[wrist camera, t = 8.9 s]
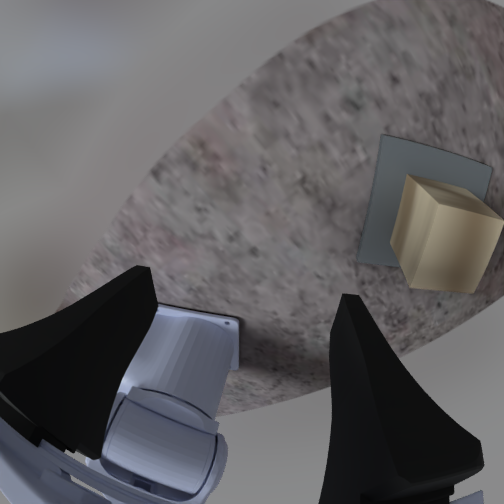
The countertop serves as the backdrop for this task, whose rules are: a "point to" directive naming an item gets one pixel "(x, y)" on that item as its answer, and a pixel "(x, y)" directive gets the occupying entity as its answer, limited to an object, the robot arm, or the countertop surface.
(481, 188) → the coaster
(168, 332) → the robot arm
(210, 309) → the countertop surface
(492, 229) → the block
